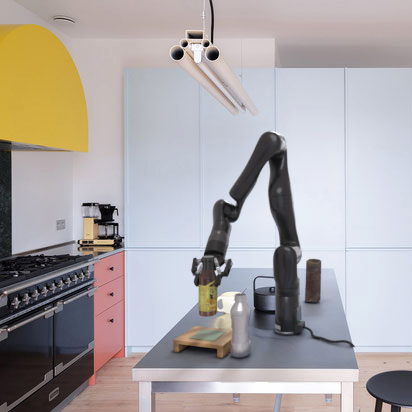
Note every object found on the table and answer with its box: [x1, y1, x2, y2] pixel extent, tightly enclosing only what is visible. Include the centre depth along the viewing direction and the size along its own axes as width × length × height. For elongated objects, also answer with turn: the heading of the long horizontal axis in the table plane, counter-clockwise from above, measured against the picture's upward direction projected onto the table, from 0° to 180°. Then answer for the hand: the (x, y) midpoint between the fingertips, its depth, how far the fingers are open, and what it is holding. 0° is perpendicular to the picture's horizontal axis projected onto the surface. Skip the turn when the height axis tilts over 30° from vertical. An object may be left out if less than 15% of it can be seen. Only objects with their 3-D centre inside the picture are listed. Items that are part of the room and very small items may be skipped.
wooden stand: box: [172, 325, 232, 359], centre depth 141 cm, size 18×14×4 cm
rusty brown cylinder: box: [304, 258, 322, 303], centre depth 196 cm, size 8×7×20 cm
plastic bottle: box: [229, 292, 252, 358], centre depth 133 cm, size 6×7×20 cm
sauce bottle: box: [198, 255, 218, 318], centre depth 140 cm, size 7×6×20 cm
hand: (206, 285), depth 139 cm, fingers closed on sauce bottle, 6 cm apart
